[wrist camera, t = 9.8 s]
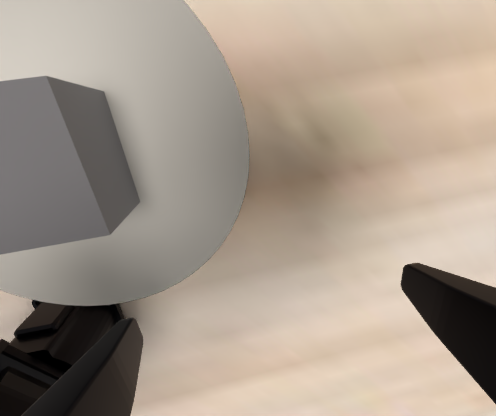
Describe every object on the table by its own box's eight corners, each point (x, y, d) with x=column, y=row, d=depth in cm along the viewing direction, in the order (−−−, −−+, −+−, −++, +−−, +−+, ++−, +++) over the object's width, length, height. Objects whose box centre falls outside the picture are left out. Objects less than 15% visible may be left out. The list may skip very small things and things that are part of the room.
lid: (263, 265, 11) (282, 321, 8) (-13, 321, 10) (-112, 408, 7) (215, -96, 6) (217, -287, 3) (-296, -61, 5) (-924, -284, 2)
